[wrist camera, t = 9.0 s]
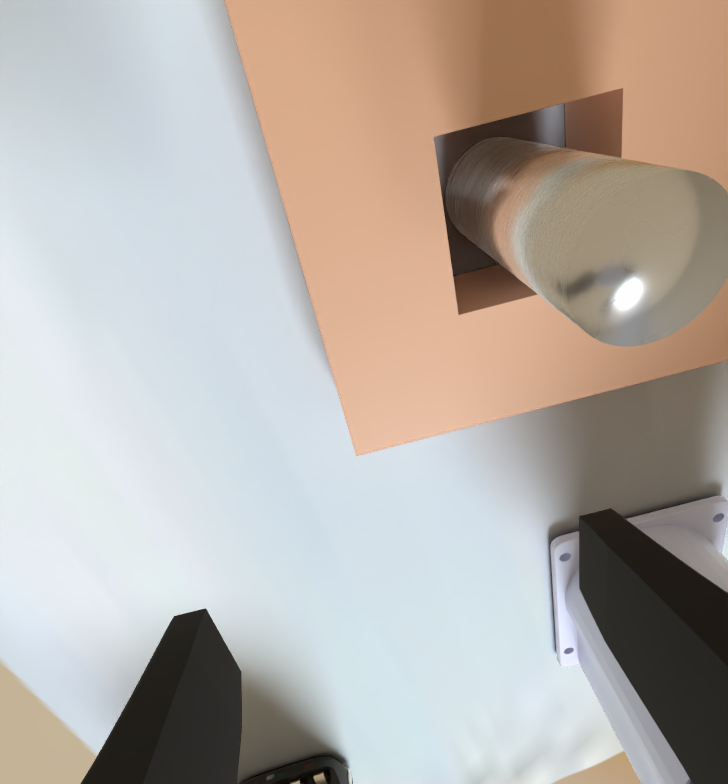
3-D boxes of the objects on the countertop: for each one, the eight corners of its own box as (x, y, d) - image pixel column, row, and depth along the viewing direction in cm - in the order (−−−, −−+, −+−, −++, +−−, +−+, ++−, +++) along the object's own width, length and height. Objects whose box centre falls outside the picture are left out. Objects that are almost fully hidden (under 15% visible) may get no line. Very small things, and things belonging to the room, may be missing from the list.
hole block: (672, 322, 19) (733, 358, 16) (347, 406, 19) (356, 456, 16) (709, -124, 13) (816, -179, 10) (231, 1, 13) (217, -23, 10)
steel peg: (543, 230, 17) (725, 326, 10) (451, 251, 17) (566, 362, 10) (541, 126, 15) (753, 150, 8) (439, 149, 15) (566, 193, 8)
